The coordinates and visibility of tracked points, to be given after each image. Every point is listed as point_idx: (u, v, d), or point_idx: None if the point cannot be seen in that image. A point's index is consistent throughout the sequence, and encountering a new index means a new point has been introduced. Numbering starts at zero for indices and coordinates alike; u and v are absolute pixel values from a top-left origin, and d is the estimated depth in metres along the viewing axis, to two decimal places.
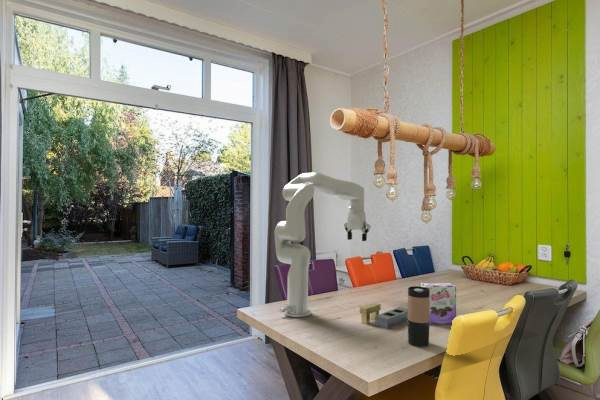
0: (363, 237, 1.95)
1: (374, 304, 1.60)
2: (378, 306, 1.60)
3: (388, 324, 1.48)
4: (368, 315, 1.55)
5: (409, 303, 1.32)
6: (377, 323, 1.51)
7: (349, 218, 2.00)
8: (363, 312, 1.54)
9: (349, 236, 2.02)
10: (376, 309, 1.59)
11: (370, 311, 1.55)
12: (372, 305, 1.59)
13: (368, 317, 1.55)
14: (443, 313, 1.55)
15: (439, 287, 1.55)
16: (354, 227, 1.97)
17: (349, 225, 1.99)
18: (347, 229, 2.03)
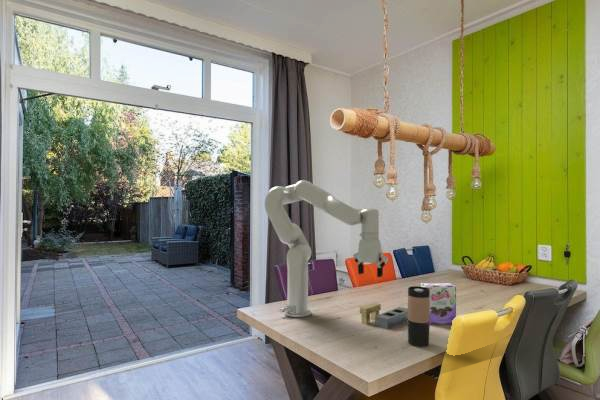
0: (378, 272, 1.57)
1: (374, 304, 1.60)
2: (378, 306, 1.60)
3: (388, 324, 1.48)
4: (368, 315, 1.55)
5: (409, 303, 1.32)
6: (377, 323, 1.51)
7: (360, 248, 1.61)
8: (363, 312, 1.54)
9: (360, 270, 1.64)
10: (376, 309, 1.59)
11: (370, 311, 1.55)
12: (372, 305, 1.59)
13: (368, 317, 1.55)
14: (443, 313, 1.55)
15: (439, 287, 1.55)
16: (367, 259, 1.59)
17: (360, 257, 1.61)
18: (358, 261, 1.65)
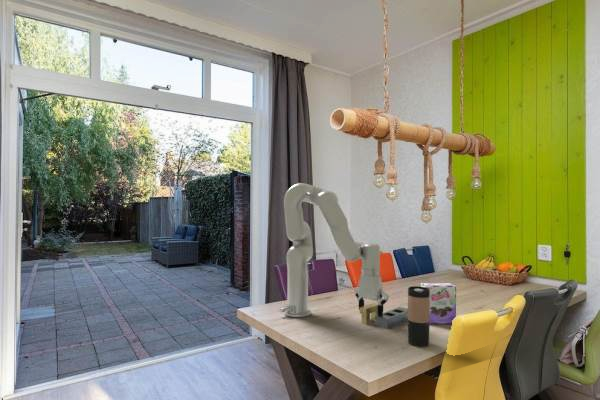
0: (379, 310, 1.54)
1: (374, 304, 1.60)
2: None
3: (388, 324, 1.48)
4: (368, 315, 1.55)
5: (409, 303, 1.32)
6: (377, 323, 1.51)
7: (361, 283, 1.59)
8: (363, 312, 1.54)
9: (361, 305, 1.61)
10: (376, 309, 1.59)
11: (370, 311, 1.55)
12: (372, 305, 1.59)
13: (368, 317, 1.55)
14: (443, 313, 1.55)
15: (439, 287, 1.55)
16: (367, 296, 1.56)
17: (361, 292, 1.59)
18: (358, 296, 1.62)
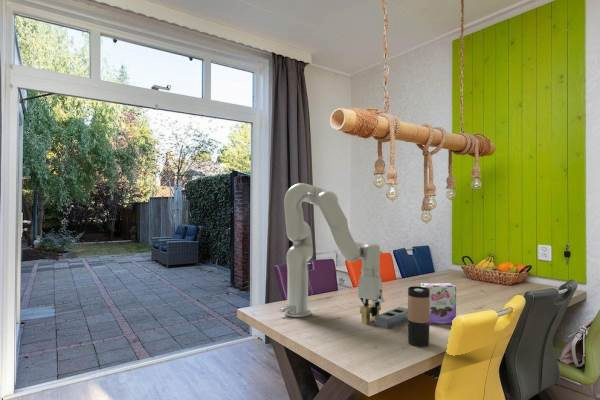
0: (373, 311, 1.56)
1: None
2: (378, 306, 1.60)
3: (388, 324, 1.48)
4: (368, 315, 1.55)
5: (409, 303, 1.32)
6: (377, 323, 1.51)
7: (361, 284, 1.59)
8: (363, 312, 1.54)
9: None
10: None
11: (370, 311, 1.55)
12: (372, 305, 1.59)
13: (368, 317, 1.55)
14: (443, 313, 1.55)
15: (439, 287, 1.55)
16: (367, 296, 1.56)
17: (361, 293, 1.59)
18: None
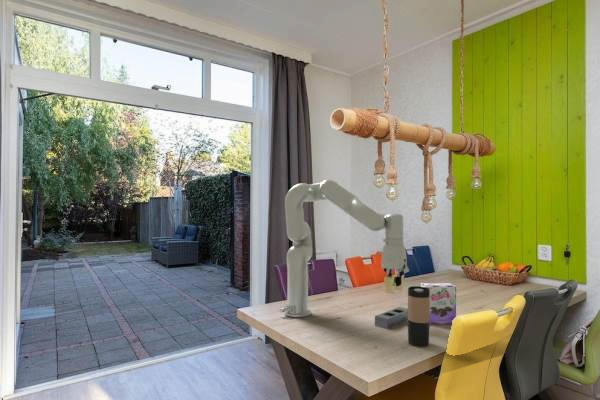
0: (397, 281, 1.54)
1: None
2: (402, 276, 1.58)
3: (388, 324, 1.48)
4: (392, 285, 1.54)
5: (409, 303, 1.32)
6: (377, 323, 1.51)
7: (384, 254, 1.57)
8: (387, 282, 1.53)
9: None
10: None
11: (394, 281, 1.54)
12: (395, 275, 1.57)
13: (392, 287, 1.54)
14: (443, 313, 1.55)
15: (439, 287, 1.55)
16: (391, 266, 1.55)
17: (384, 263, 1.57)
18: None
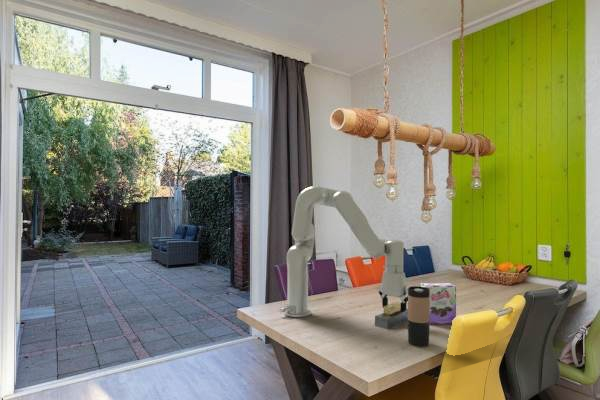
0: (402, 307, 1.53)
1: (397, 303, 1.59)
2: None
3: (388, 324, 1.48)
4: (392, 314, 1.53)
5: (409, 303, 1.32)
6: (377, 323, 1.51)
7: (384, 280, 1.57)
8: (387, 311, 1.53)
9: (384, 303, 1.59)
10: (399, 308, 1.57)
11: (394, 310, 1.54)
12: (395, 304, 1.57)
13: None
14: (443, 313, 1.55)
15: (439, 287, 1.55)
16: (391, 293, 1.55)
17: (384, 289, 1.57)
18: (382, 294, 1.60)
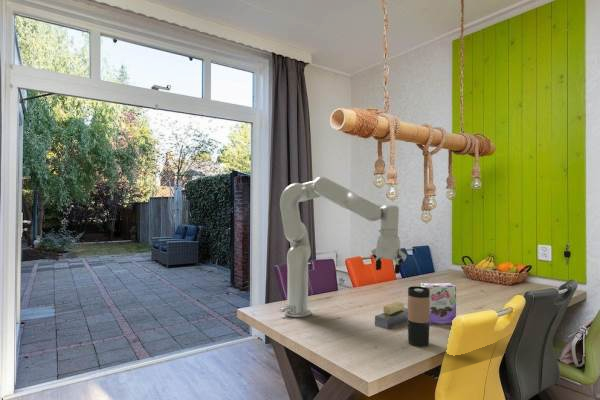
0: (396, 269, 1.57)
1: (397, 303, 1.59)
2: (401, 305, 1.58)
3: (388, 324, 1.48)
4: (392, 314, 1.53)
5: (409, 303, 1.32)
6: (377, 323, 1.51)
7: (379, 244, 1.62)
8: (387, 311, 1.53)
9: (378, 266, 1.64)
10: (399, 308, 1.57)
11: (394, 310, 1.54)
12: (395, 304, 1.57)
13: None
14: (443, 313, 1.55)
15: (439, 287, 1.55)
16: (385, 256, 1.59)
17: (379, 252, 1.62)
18: (376, 257, 1.65)
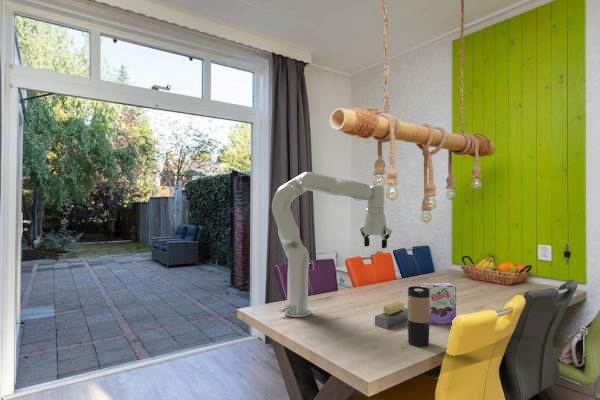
0: (383, 244, 1.69)
1: (397, 303, 1.59)
2: (401, 305, 1.58)
3: (388, 324, 1.48)
4: (392, 314, 1.53)
5: (409, 303, 1.32)
6: (377, 323, 1.51)
7: (366, 222, 1.74)
8: (387, 311, 1.53)
9: (366, 242, 1.76)
10: (399, 308, 1.57)
11: (394, 310, 1.54)
12: (395, 304, 1.57)
13: None
14: (443, 313, 1.55)
15: (439, 287, 1.55)
16: (372, 232, 1.71)
17: (366, 230, 1.74)
18: (364, 234, 1.77)
